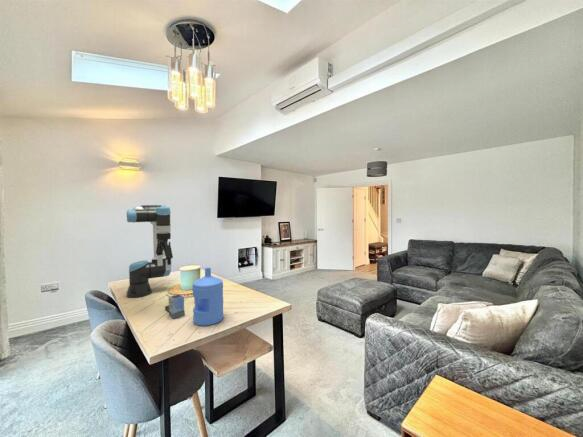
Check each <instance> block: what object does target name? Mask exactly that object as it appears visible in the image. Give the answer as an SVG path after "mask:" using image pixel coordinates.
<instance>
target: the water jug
mask: <svg viewBox="0 0 583 437" xmlns="http://www.w3.org/2000/svg"><path fill="white" fill-rule="evenodd" d="M211 270H212V268H211V267H206V268H204V276H202V277H201V278H199V279H196V280H195V281H194V282H193V283H192V296H193V299H194V298H195V303H194V307H193V308H192V312H193V318H192V321H193V323H194V324H195V325H198V326H203V327H206V326H212V325H215V324H218V323H219V322H221V321H223V319H224V316H225V315H224V280H223V279H222V278H219V277H216V276H214V275H212V271H211ZM198 299H199V302H198Z"/></svg>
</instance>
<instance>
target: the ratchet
mask: <svg viewBox="0 0 583 437" xmlns="http://www.w3.org/2000/svg"><path fill="white" fill-rule="evenodd" d="M164 311H166V312H167V313H168V317H170V318H171V319H172V320H176V319H179V318H183V317H185V315H186V314H185V310H184V311H181V312H177V313H174V314H173V313H171V312H170V311H169V304H168V305H165V306H164Z"/></svg>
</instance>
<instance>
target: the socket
mask: <svg viewBox="0 0 583 437" xmlns="http://www.w3.org/2000/svg"><path fill="white" fill-rule="evenodd" d="M168 305H169V311H170V312H171V313H173V314H174V313H177V312H181V311H185V296H184V295H182V294H181V293H178V294H174V295H170V296H168Z"/></svg>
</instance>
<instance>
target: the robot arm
mask: <svg viewBox="0 0 583 437" xmlns="http://www.w3.org/2000/svg"><path fill="white" fill-rule="evenodd" d="M126 222H127V223H150V224H151V225H152V234H153V235H152V236H153V237H152V241H153V242H152V243H153V244H152V245H153V257H152V259H151V261H149V260H147V259H146V260H140V261H136V262H135V261H134V262H133V263H131V264H129V266H128V273H129V274H128V275H129V277H128V278H129V281H128V282H129V285H128V289H127V291H126V298H129V299H130V298H131V299H134V298H135V299H136V298H142V297H146V296H149V295H151V294H152V293H153V291H152V290H153V289H152V288H151V285H150V282H149V279H154V278H155V279H157V278H163V277H169V276H170V274H171V271H172V259H173V258H174V256H173V251H172V246H171V241H169V240H171V239H172V238H171V237H172V236H171V231H172V230H171V226H172V225H171V208H170V206H167V205H161V204H160V205H159V204H154V205H153V204H151V205H149V204H147V205H145V204H144V205H143V204H142V205H138V206H135V207H133V208H132V209H127V210H126Z"/></svg>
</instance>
